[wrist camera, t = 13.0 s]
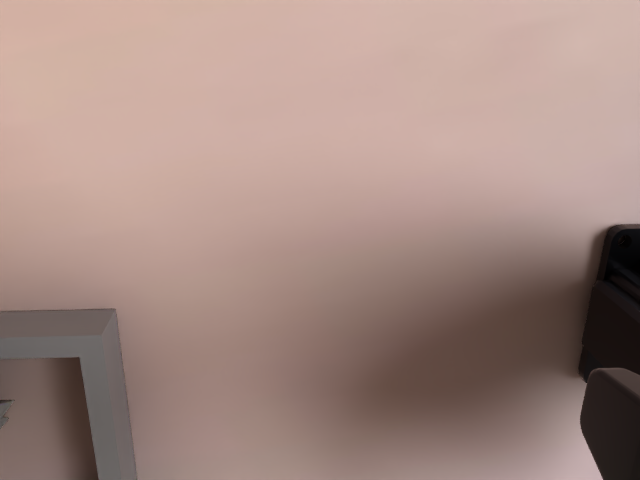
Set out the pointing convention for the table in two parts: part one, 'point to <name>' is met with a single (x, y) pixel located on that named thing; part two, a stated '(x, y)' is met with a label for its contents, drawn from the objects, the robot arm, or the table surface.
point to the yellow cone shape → (4, 410)
